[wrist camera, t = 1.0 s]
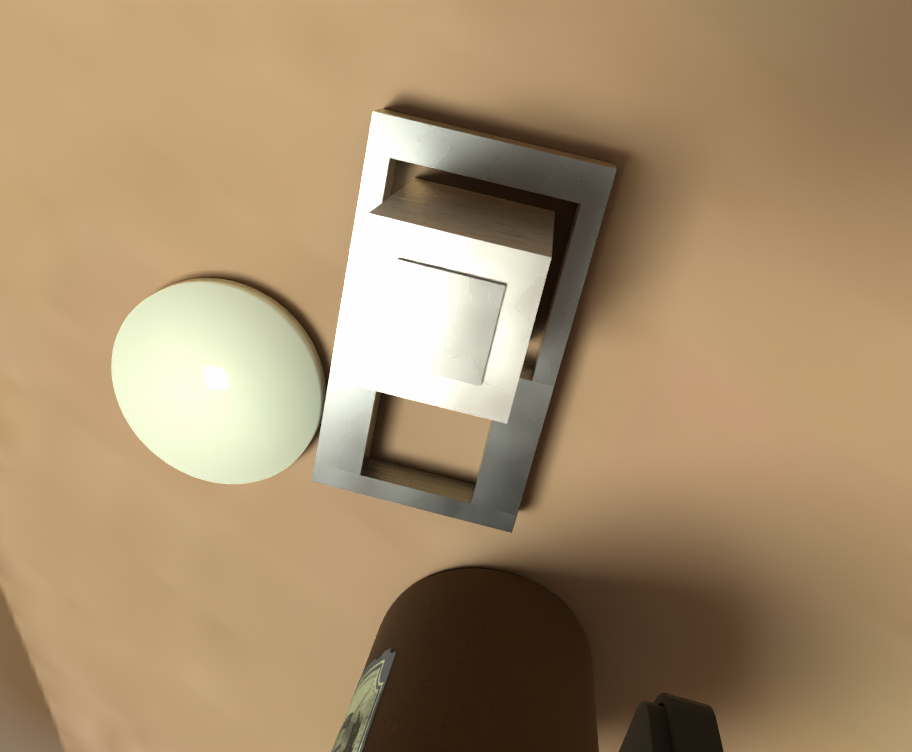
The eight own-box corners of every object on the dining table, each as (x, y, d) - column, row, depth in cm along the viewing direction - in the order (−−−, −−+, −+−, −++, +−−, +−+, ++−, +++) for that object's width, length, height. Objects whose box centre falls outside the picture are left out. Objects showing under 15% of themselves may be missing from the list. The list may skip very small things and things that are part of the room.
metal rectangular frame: (382, 108, 27) (372, 110, 25) (614, 163, 26) (616, 169, 25) (323, 463, 32) (311, 481, 31) (514, 512, 32) (511, 532, 30)
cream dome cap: (127, 254, 30) (116, 259, 29) (341, 307, 29) (335, 314, 29) (117, 446, 33) (107, 455, 32) (310, 496, 33) (304, 506, 32)
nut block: (414, 177, 27) (366, 214, 21) (554, 211, 27) (551, 258, 21) (389, 311, 29) (338, 383, 23) (520, 343, 29) (506, 426, 22)
